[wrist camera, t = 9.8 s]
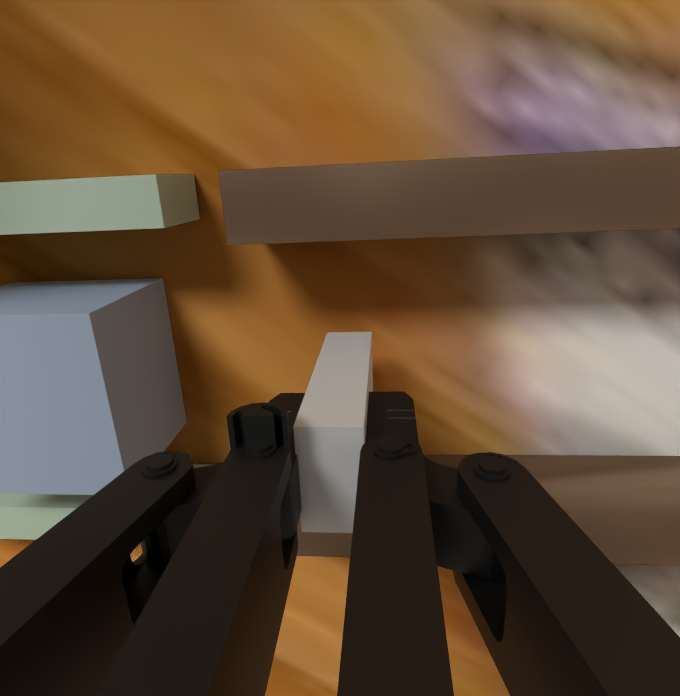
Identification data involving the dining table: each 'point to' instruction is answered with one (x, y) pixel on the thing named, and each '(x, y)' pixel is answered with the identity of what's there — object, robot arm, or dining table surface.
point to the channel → (481, 220)
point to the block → (84, 382)
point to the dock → (75, 216)
